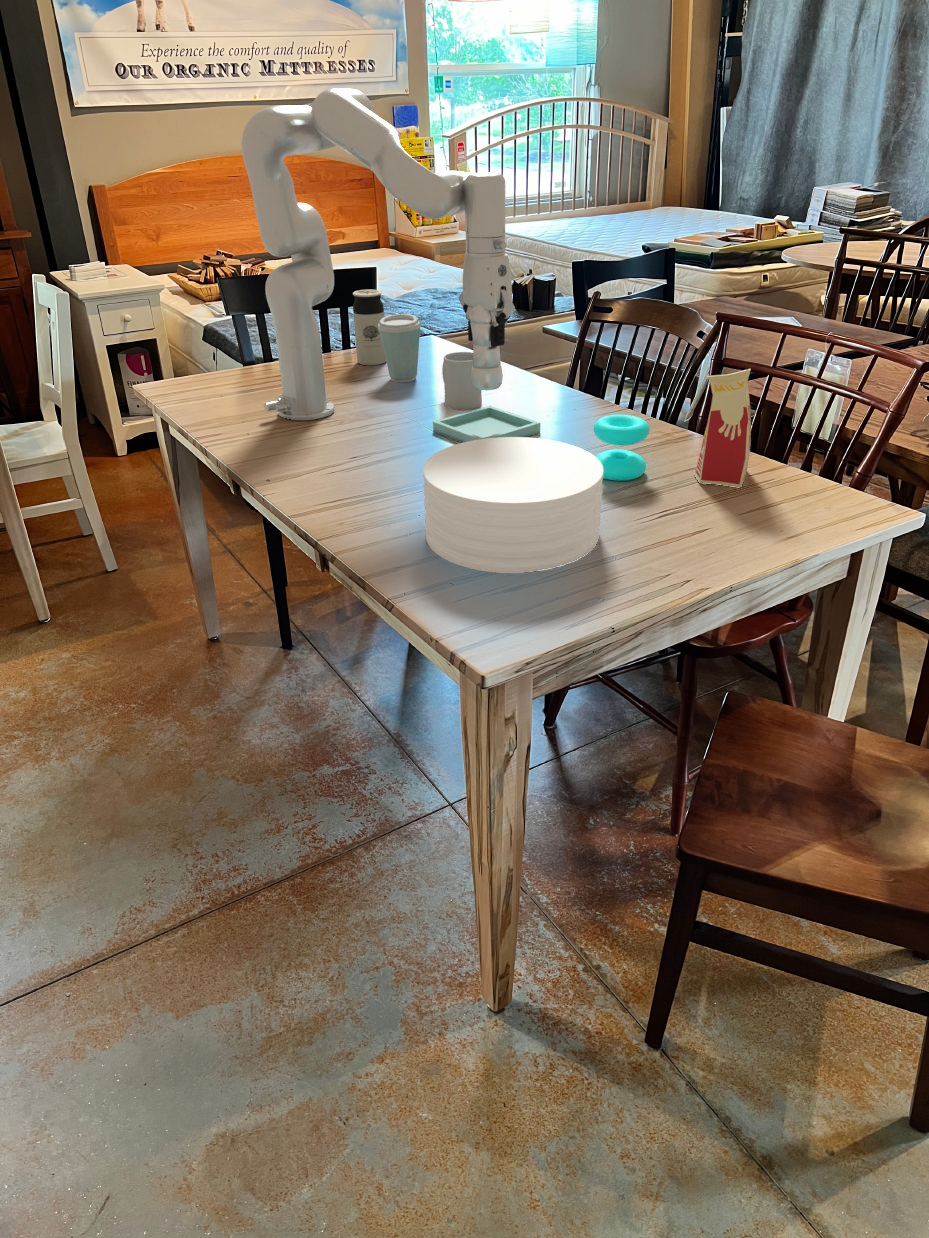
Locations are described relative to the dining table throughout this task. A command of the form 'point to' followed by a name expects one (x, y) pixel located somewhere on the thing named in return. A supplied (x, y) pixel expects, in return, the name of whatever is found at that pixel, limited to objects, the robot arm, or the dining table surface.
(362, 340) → the travel mug
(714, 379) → the milk carton
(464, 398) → the mug
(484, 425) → the tray
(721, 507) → the dining table surface
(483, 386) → the plastic bottle
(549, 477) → the plate stack
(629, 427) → the donuts
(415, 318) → the disposable coffee cup
